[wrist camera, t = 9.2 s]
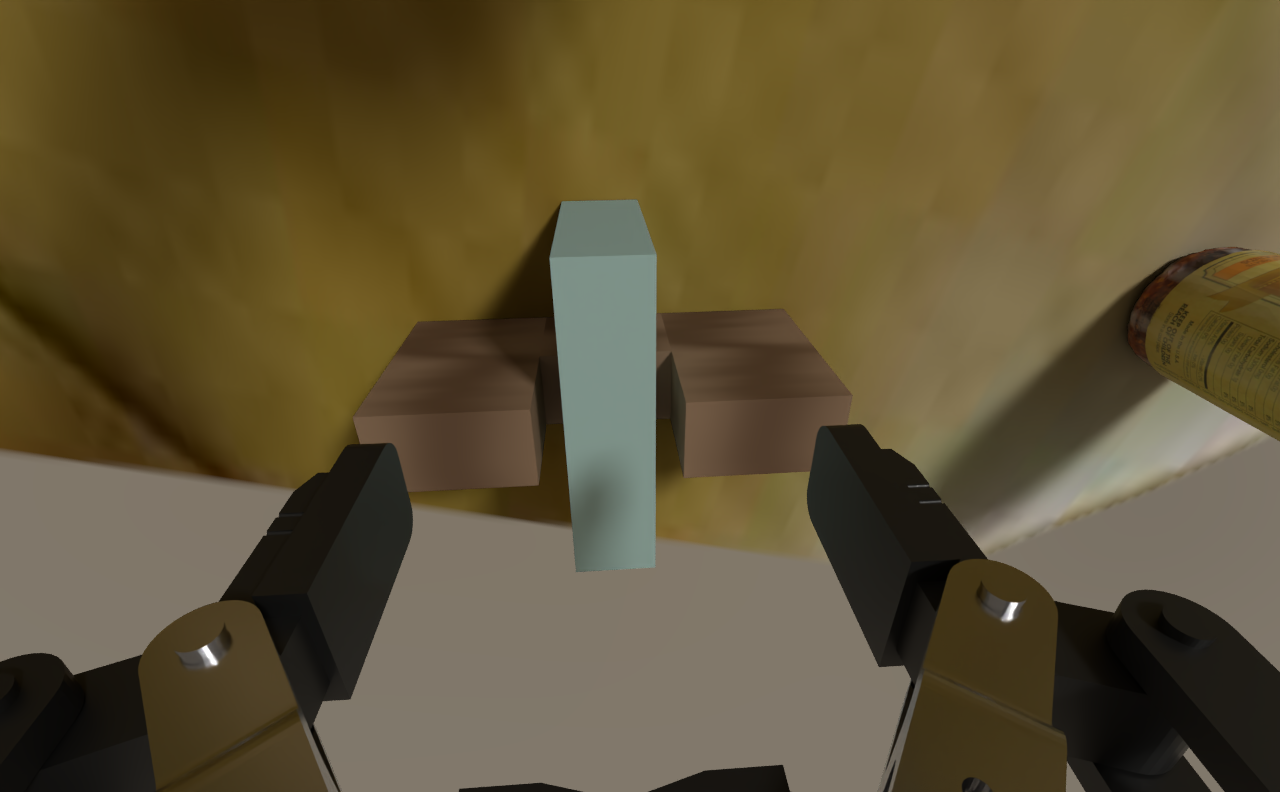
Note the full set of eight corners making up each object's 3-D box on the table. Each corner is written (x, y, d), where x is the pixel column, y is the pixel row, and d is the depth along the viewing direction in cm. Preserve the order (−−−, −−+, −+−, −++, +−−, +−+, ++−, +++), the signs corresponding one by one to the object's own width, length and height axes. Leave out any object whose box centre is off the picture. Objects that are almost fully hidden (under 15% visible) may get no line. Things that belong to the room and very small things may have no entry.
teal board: (561, 201, 24) (549, 257, 17) (637, 199, 24) (656, 254, 17) (579, 452, 29) (576, 571, 22) (640, 449, 30) (655, 567, 23)
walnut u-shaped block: (430, 383, 27) (374, 493, 20) (417, 322, 26) (352, 417, 19) (776, 369, 28) (838, 469, 21) (783, 309, 27) (852, 395, 20)
